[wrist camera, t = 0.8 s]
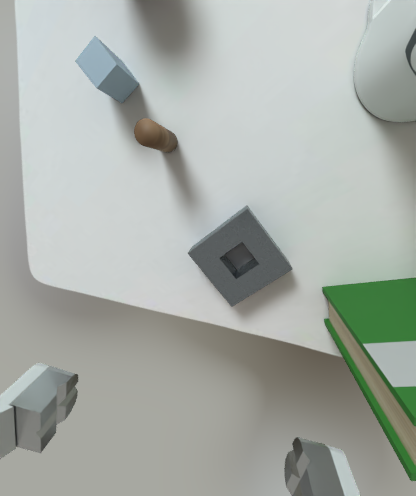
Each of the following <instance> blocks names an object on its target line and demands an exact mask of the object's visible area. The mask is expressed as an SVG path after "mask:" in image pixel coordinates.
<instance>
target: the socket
mask: <svg viewBox="0 0 416 496" xmlns="http://www.w3.org/2000/svg"><path fill="white" fill-rule="evenodd" d="M241 242H243V244H244V245H245V246H246V247H247V249H248V250H249V251H250V253H251V254H252V255H253V257H254V259H253V260H251V261H250V262H248V263H247V264H245V265H244V266H242V267H241V268H239V269H238V270H236V269H235V267H234V266H233V265H232V264H231V262H230V261H229V260H228V259H227V257H226V256H225V255H224V254H226V253H227V252H228V251H230V250H231V249H233V248H234V247H235V246H237V245H238V244H240V243H241ZM188 254H189V255H190V257H191V258H192V259H193V260H194V261H195V263H196V264H197V265H198V266H199V268H200V269H201V270H202V271H203V272H204V274H205V275H206V276H207V277H208V278H209V280H210V281H211V282H212V283H213V285H214V286H215V287H216V288H217V289H218V291H219V292H220V293H221V294H222V296H223V297H224V298H225V299H226V300H227V302H228V303H229V304H230V305H231V306H234V305H235V304H237V303H239V302H240V301H242V300H244V299H245V298H247V297H248V296H250V295H252V294H253V293H255V292H256V291H258V290H260V289H261V288H263V287H265V286H266V285H268V284H269V283H271V282H273V281H274V280H276V279H277V278H279V277H281V276H282V275H284V274H285V273H287V272H289V271H290V270H292V267H291V265H290V263H289V261H288V260H287V258H286V257H285V256H284V254H283V253H282V252H281V250H280V249H279V248H278V246H277V245H276V244H275V242H274V241H273V240H272V238H271V237H270V236H269V234H268V233H267V232H266V230H265V229H264V228H263V226H262V225H261V224H260V222H259V221H258V220H257V218H256V217H255V216H254V214H253V213H252V212H251V210H250V209H249V208H248V206H246V207H244V208H243V209H242V210H240V211H239V212H238V213H236V214H235V215H234V216H232V217H231V218H230V219H228V220H227V221H226V222H224V223H223V224H222V225H220V226H219V227H218V228H216V229H215V230H214V231H212V232H211V233H210V234H208V235H207V236H206V237H204V238H203V239H202V240H200V241H199V242H198V243H196V244H195V245H194V246H193V247H192V248H191V249H190V251H189V252H188Z"/></svg>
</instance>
